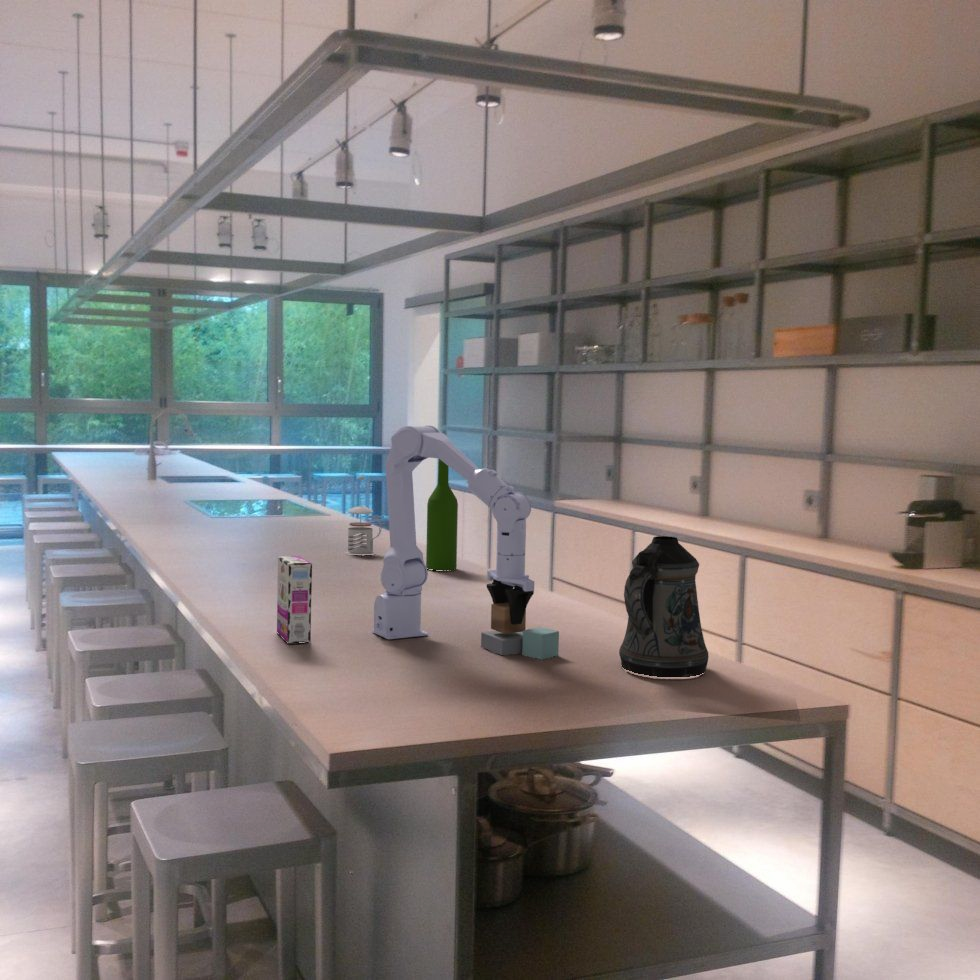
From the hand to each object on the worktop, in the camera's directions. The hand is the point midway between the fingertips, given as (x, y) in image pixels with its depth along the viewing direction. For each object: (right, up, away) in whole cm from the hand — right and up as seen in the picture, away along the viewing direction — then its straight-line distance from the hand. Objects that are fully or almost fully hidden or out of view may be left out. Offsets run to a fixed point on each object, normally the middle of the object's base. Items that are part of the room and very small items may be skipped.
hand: (509, 621), depth 208 cm
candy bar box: (-44, -4, +5) cm, 45 cm away
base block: (0, -6, 0) cm, 6 cm away
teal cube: (+6, -6, -4) cm, 10 cm away
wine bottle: (-18, +3, +98) cm, 100 cm away
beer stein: (+28, -8, -14) cm, 32 cm away
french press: (-44, +6, +124) cm, 132 cm away
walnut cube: (0, -2, 0) cm, 2 cm away
